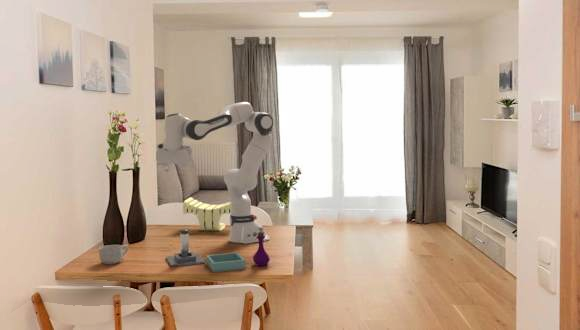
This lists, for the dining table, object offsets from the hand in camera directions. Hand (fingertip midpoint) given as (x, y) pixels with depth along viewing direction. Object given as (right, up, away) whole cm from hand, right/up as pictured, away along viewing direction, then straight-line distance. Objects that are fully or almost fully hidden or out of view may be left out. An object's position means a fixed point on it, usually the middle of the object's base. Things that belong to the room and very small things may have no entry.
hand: (174, 172), depth 301 cm
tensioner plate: (+9, -42, -19) cm, 47 cm away
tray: (+29, -43, -28) cm, 59 cm away
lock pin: (+9, -41, -19) cm, 46 cm away
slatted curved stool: (+12, -35, +53) cm, 65 cm away
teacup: (-25, -43, -20) cm, 53 cm away
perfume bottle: (+46, -43, -27) cm, 68 cm away
